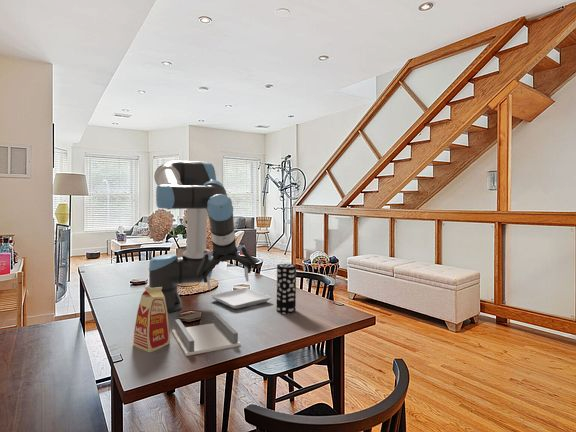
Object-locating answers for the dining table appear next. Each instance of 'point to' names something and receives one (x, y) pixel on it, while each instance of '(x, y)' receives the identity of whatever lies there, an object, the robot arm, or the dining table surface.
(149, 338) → the milk carton
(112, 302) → the dining table surface
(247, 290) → the salad plate
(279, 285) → the white-spotted black cylinder
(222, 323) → the rail board
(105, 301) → the dining table surface
